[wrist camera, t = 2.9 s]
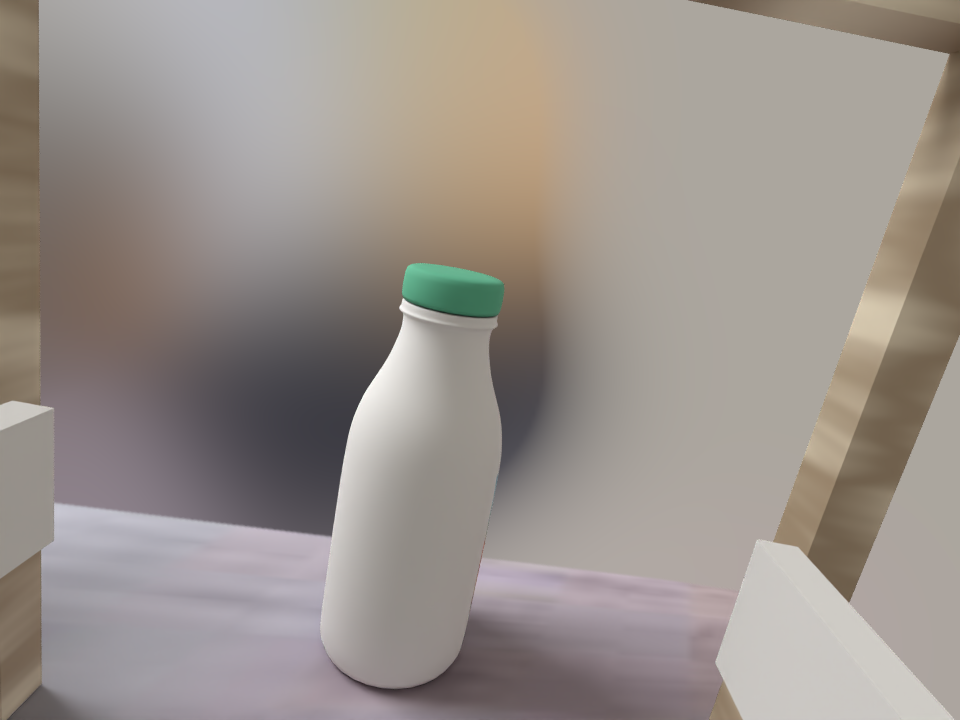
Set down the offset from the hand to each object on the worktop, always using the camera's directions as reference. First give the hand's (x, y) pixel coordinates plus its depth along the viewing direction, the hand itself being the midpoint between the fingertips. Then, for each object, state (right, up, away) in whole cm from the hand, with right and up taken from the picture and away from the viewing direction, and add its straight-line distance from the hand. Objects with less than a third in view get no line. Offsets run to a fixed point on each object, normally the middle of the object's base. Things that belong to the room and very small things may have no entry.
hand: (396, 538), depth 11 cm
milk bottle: (-3, -12, +20) cm, 24 cm away
